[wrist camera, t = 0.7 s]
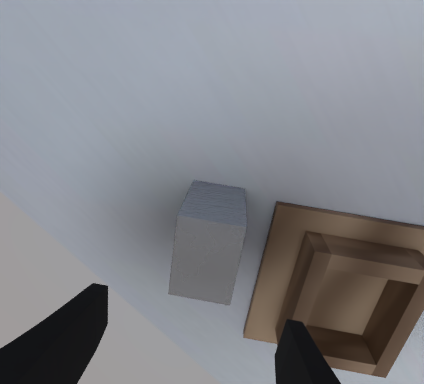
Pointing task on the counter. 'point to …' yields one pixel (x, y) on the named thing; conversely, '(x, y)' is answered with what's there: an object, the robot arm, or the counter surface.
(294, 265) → the well
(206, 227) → the grey tall block
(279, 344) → the robot arm
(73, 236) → the counter surface
